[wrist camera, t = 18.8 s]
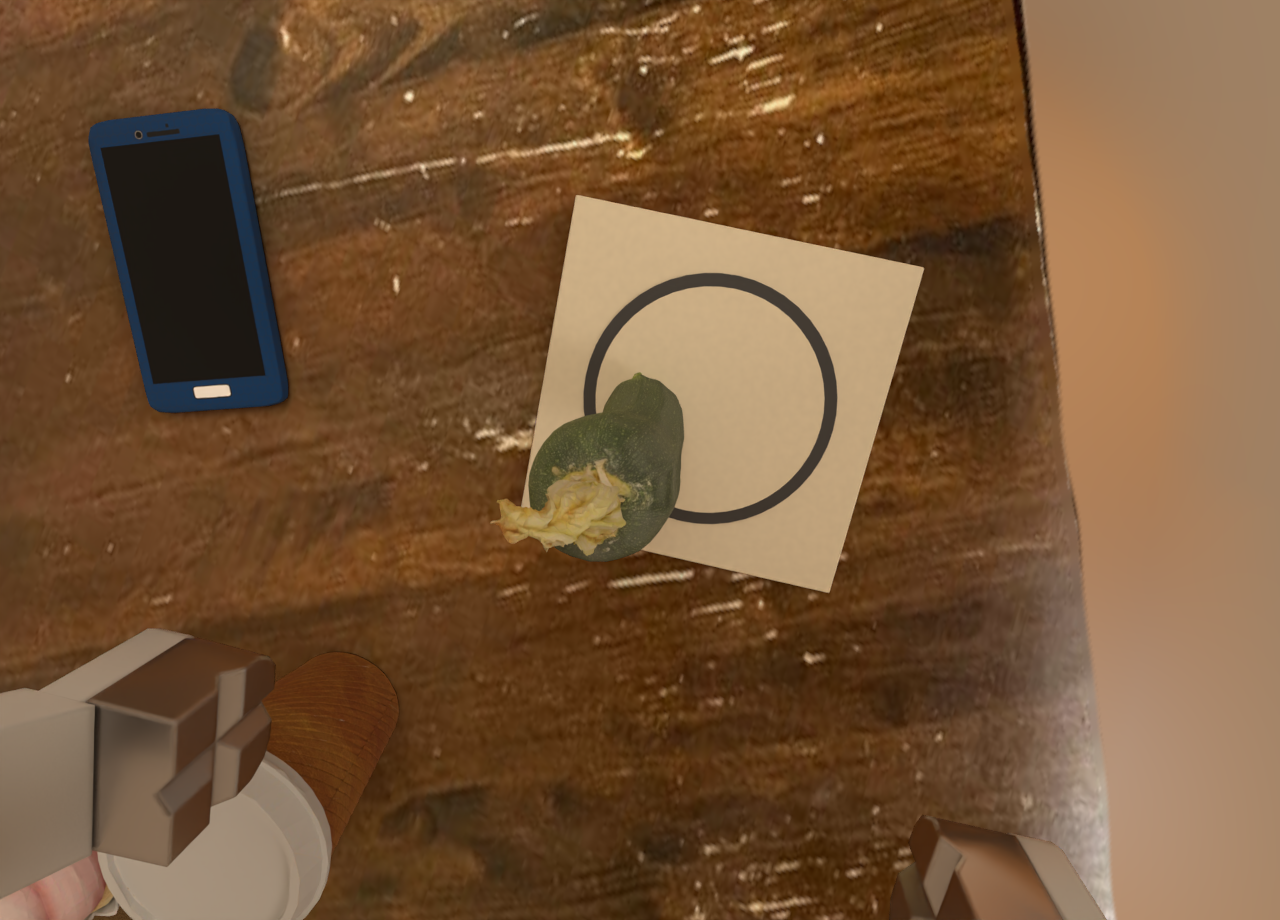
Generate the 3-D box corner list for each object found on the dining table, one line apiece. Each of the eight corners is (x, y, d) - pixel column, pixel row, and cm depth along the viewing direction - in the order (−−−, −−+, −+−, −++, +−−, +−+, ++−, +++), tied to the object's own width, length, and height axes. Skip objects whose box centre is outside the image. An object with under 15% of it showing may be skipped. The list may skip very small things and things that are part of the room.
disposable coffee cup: (461, 716, 40) (360, 890, 28) (347, 805, 42) (207, 1002, 30) (343, 591, 39) (185, 717, 27) (231, 688, 41) (39, 845, 29)
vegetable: (708, 419, 34) (708, 582, 15) (640, 476, 35) (557, 701, 16) (646, 348, 34) (562, 421, 14) (579, 409, 35) (415, 554, 15)
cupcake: (18, 786, 44) (-179, 925, 34) (107, 698, 42) (-76, 820, 32) (133, 888, 45) (-27, 1053, 35) (224, 807, 43) (82, 958, 33)
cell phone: (160, 412, 37) (149, 415, 36) (95, 125, 34) (82, 121, 34) (293, 403, 36) (284, 405, 36) (238, 108, 33) (227, 104, 33)
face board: (921, 267, 32) (925, 267, 32) (827, 588, 36) (830, 594, 35) (577, 196, 33) (574, 194, 32) (521, 518, 37) (517, 523, 36)
